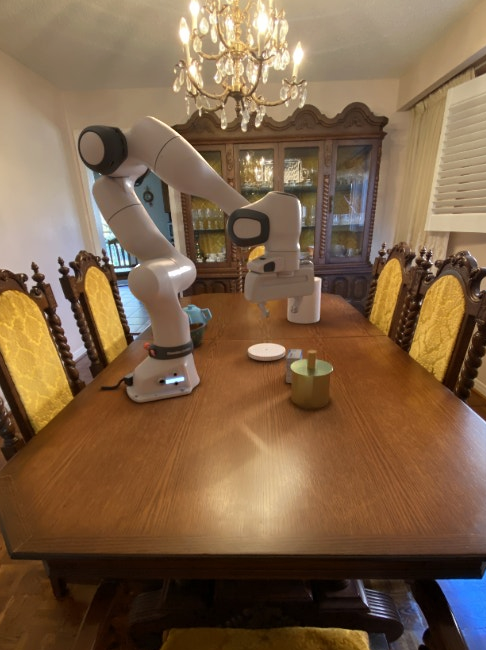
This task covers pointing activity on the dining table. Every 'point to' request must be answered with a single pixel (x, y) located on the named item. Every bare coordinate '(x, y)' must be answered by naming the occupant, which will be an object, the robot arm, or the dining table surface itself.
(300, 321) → the canister
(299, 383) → the tin
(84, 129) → the robot arm
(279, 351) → the plastic lid
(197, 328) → the dark green pot
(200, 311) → the teapot
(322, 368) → the lid
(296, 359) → the medicine box
